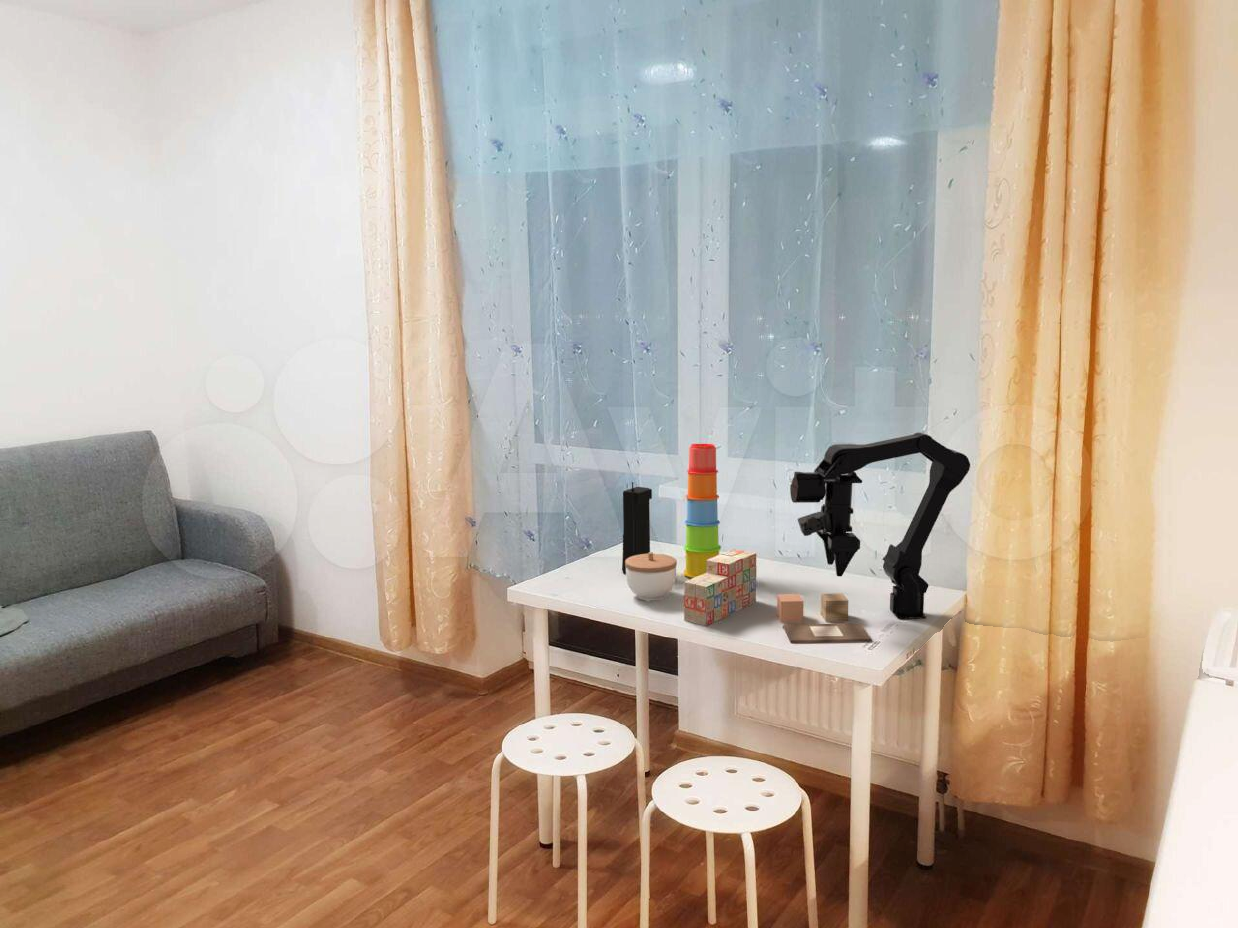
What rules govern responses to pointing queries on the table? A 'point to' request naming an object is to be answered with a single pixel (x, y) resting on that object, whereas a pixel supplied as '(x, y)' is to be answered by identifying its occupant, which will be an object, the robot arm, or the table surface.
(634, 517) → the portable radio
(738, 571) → the stack of blocks
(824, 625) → the brown flat panel
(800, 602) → the terracotta cube
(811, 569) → the table surface
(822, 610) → the oak cube
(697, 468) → the stacking cups
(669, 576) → the lidded bowl
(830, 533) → the robot arm
